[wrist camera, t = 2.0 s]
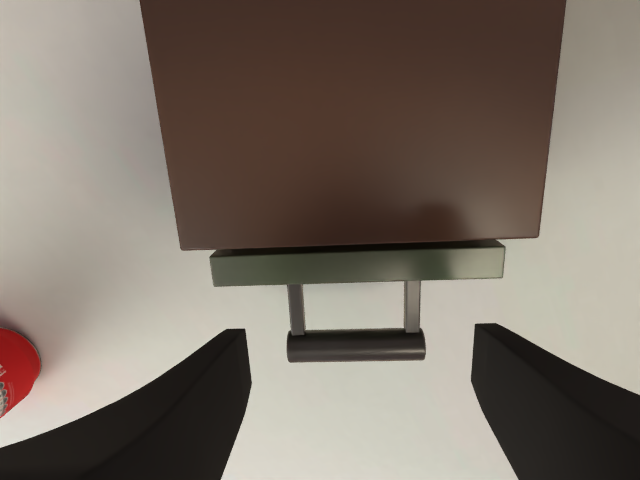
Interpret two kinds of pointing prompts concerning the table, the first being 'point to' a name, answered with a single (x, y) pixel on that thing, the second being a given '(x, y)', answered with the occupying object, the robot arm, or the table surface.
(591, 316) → the table surface
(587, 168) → the table surface
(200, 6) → the cabinet
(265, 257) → the drawer
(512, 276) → the table surface
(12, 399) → the beverage can
